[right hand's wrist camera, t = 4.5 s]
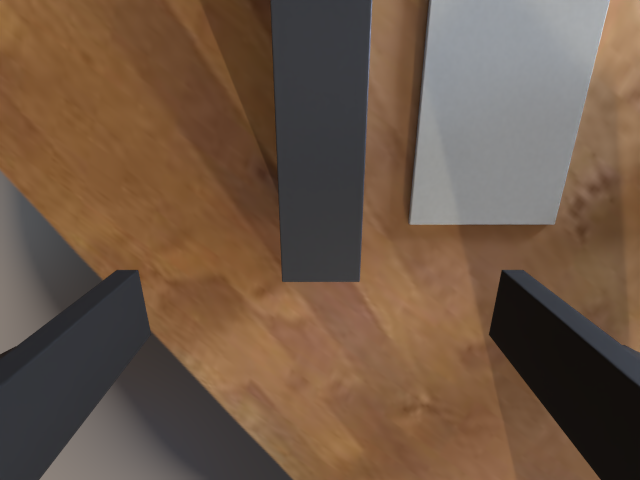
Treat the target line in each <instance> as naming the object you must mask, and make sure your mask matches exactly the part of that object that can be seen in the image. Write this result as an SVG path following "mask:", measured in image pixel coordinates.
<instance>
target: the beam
mask: <svg viewBox="0 0 640 480" xmlns="http://www.w3.org/2000/svg"><path fill="white" fill-rule="evenodd" d="M270 3H271V27H272V50H273V74H274V98H275V122H276V146H277V170H278V194H279V217H280V241H281V265H282V282H359V281H360V264H361V241H362V219H363V196H364V174H365V151H366V128H367V106H368V83H369V61H370V38H371V16H372V0H270Z"/></svg>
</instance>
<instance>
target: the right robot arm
mask: <svg viewBox="0 0 640 480" xmlns="http://www.w3.org/2000/svg"><path fill="white" fill-rule="evenodd" d="M150 335H151V332H150V327H149V322H148V317H147V312H146V307H145V302H144V297H143V292H142V287H141V282H140V277H139V272H138V270H116V271H115V272H114V273H112V274H111V275H110V276H108V277H107V278H106V279H105V280H103V281H102V282H101V283H99V284H98V285H97V286H95V287H94V288H93V289H91V290H90V291H89V292H87V293H86V294H85V295H84V296H82V297H81V298H80V299H78V300H77V301H76V302H74V303H73V304H72V305H70V306H69V307H68V308H66V309H65V310H64V311H63V312H61V313H60V314H59V315H57V316H56V317H55V318H53V319H52V320H51V321H49V322H48V323H47V324H45V325H44V326H43V327H41V328H40V329H39V330H38V331H36V332H35V333H34V334H32V335H31V336H30V337H28V338H27V339H26V340H24V341H23V342H22V343H20V344H19V345H18V346H16V347H14V348H12V349H10V350H8V351H6V352H4V353H2V354H0V480H39V479H40V478H41V477H42V475H43V474H44V473H45V471H46V470H47V469H48V468H49V466H50V465H51V464H52V462H53V461H54V460H55V459H56V457H57V456H58V455H59V453H60V452H61V451H62V449H63V448H64V447H65V446H66V444H67V443H68V442H69V440H70V439H71V438H72V436H73V435H74V434H75V433H76V431H77V430H78V429H79V427H80V426H81V425H82V423H83V422H84V421H85V420H86V418H87V417H88V416H89V414H90V413H91V412H92V411H93V409H94V408H95V407H96V405H97V404H98V403H99V401H100V400H101V399H102V398H103V396H104V395H105V394H106V392H107V391H108V390H109V389H110V387H111V386H112V385H113V383H114V382H115V381H116V379H117V378H118V377H119V376H120V374H121V373H122V372H123V370H124V369H125V368H126V366H127V365H128V364H129V363H130V361H131V360H132V359H133V357H134V356H135V355H136V353H137V352H138V351H139V350H140V348H141V347H142V346H143V344H144V343H145V342H146V341H147V339H148V338H149V337H150ZM489 335H490V337H491V338H492V339H493V341H494V342H495V343H496V344H497V346H498V347H499V348H500V350H501V351H502V352H503V353H504V355H505V356H506V357H507V359H508V360H509V361H510V363H511V364H512V365H513V366H514V368H515V369H516V370H517V372H518V373H519V374H520V376H521V377H522V378H523V379H524V381H525V382H526V383H527V385H528V386H529V387H530V389H531V390H532V391H533V392H534V394H535V395H536V396H537V398H538V399H539V400H540V401H541V403H542V404H543V405H544V407H545V408H546V409H547V411H548V412H549V413H550V414H551V416H552V417H553V418H554V420H555V421H556V422H557V424H558V425H559V426H560V427H561V429H562V430H563V431H564V433H565V434H566V435H567V436H568V438H569V439H570V440H571V442H572V443H573V444H574V446H575V447H576V448H577V449H578V451H579V452H580V453H581V455H582V456H583V457H584V459H585V460H586V461H587V462H588V464H589V465H590V466H591V468H592V469H593V470H594V471H595V473H596V474H597V475H598V477H599V478H600V479H601V480H640V353H639V352H637V351H635V350H633V349H631V348H629V347H627V346H625V345H621V344H620V343H618V342H617V341H616V340H614V339H613V338H612V337H610V336H609V335H608V334H606V333H605V332H604V331H603V330H601V329H600V328H599V327H597V326H596V325H595V324H593V323H592V322H591V321H589V320H588V319H587V318H585V317H584V316H583V315H581V314H580V313H579V312H578V311H576V310H575V309H574V308H572V307H571V306H570V305H568V304H567V303H566V302H564V301H563V300H562V299H560V298H559V297H558V296H557V295H555V294H554V293H553V292H551V291H550V290H549V289H547V288H546V287H545V286H543V285H542V284H541V283H539V282H538V281H537V280H535V279H534V278H533V277H532V276H530V275H529V274H528V273H526V272H525V271H524V270H502V272H501V277H500V282H499V287H498V292H497V297H496V302H495V307H494V312H493V317H492V322H491V327H490V332H489Z"/></svg>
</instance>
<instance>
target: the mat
mask: <svg viewBox="0 0 640 480" xmlns="http://www.w3.org/2000/svg"><path fill="white" fill-rule="evenodd" d="M609 1H610V0H429V8H428V19H427V29H426V40H425V51H424V62H423V73H422V83H421V94H420V105H419V116H418V126H417V137H416V148H415V159H414V170H413V180H412V191H411V202H410V213H409V224H410V225H554V224H555V221H556V217H557V213H558V209H559V205H560V200H561V196H562V192H563V188H564V184H565V180H566V176H567V172H568V168H569V164H570V160H571V156H572V152H573V148H574V143H575V139H576V135H577V131H578V127H579V123H580V119H581V115H582V111H583V107H584V103H585V99H586V95H587V91H588V87H589V82H590V78H591V74H592V70H593V66H594V62H595V58H596V54H597V50H598V46H599V42H600V38H601V34H602V30H603V26H604V21H605V17H606V13H607V9H608V5H609Z"/></svg>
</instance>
